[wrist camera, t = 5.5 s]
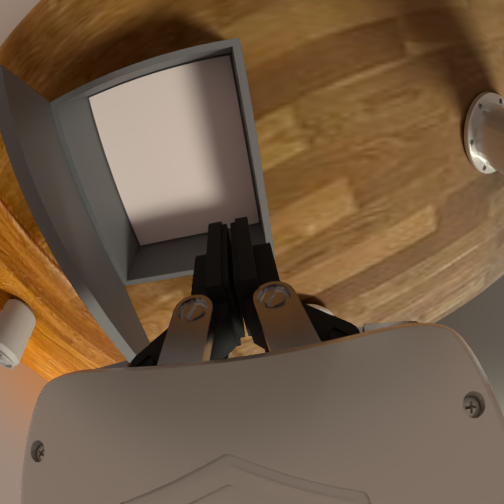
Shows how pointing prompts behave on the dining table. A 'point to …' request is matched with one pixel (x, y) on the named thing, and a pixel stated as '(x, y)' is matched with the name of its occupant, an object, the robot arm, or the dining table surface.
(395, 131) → the dining table surface
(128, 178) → the box
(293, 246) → the dining table surface
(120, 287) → the mailer lid
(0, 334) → the can
